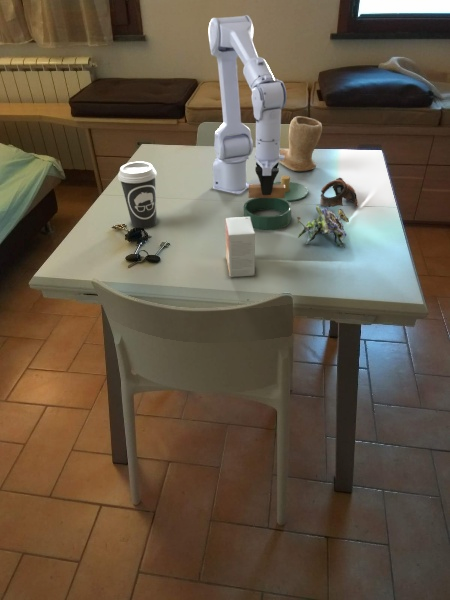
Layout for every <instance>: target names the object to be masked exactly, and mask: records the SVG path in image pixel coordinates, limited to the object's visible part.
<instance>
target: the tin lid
mask: <svg viewBox="0 0 450 600" xmlns="http://www.w3.org/2000/svg"><path fill="white" fill-rule="evenodd" d="M273 185H285V198H282V199H284V200H287V201H288V202H289V203H291V202H297V201H300V200H303V199H305V198H306V197H307V196H308V195H309V190H308V188H307V187H306V186H305V185H303V184H300V183H298V182H292V181H291V176H289V175H282V176H281V177H280V181H276V182H274V184H273Z"/></svg>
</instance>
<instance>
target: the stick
mask: <svg viewBox="0 0 450 600" xmlns="http://www.w3.org/2000/svg"><path fill="white" fill-rule="evenodd" d="M248 198H249V199H253V198H285V185H273V188H272V192H271V195H262V191H261V185H260V183H259V184H255V183H254V184H253V183H249V187H248Z"/></svg>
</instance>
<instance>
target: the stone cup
mask: <svg viewBox="0 0 450 600" xmlns="http://www.w3.org/2000/svg"><path fill="white" fill-rule="evenodd" d="M288 128H289V130H288V148H287V149H286V148H285V149H284V148H283V149H280V155H284V160H283V161H279V164H281V165H282V166H284V167H286V168H287V169H289V170H290V171H293V172H308V171H312V170H313V169H315V168H316V167H317V164H316V163H315V162H314V160H313V153H314V151H315V149H316V147H317V145H318V143H319V141H320V139H321V137H322V136H321V135H322V133H323V125H322V122H321V121H319V120H318V119H315V118H312V117H307V116H301V115H300V116H298V115H297V116H295V117H293V119H291V121H290V124H289V127H288Z"/></svg>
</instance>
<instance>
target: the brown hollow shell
mask: <svg viewBox="0 0 450 600" xmlns="http://www.w3.org/2000/svg"><path fill="white" fill-rule="evenodd" d="M330 188H332V189H333V191H334V196H330V197H329V196H328V197H327V196H325V193H326V192H327V191H328V190H329V189H330ZM320 192H321V193H320V201H319V202H320V206H323V207H326V208H331V207H336V206H341V207H343V206H344V201H343V200H346V201H349V202H353V203H354V205H355V207H354V208H358V206H359V204H358V197H357V193H356V190H355V189H354V187H353V186H352V185H351V184H349V183H347V182H346V181H345V180H344V179H343V178H342V177H337V178H336V179H333V180H332V181H329V182H328V183H326V184H325V185H324V186H323V187H322V188H321V190H320Z"/></svg>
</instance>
